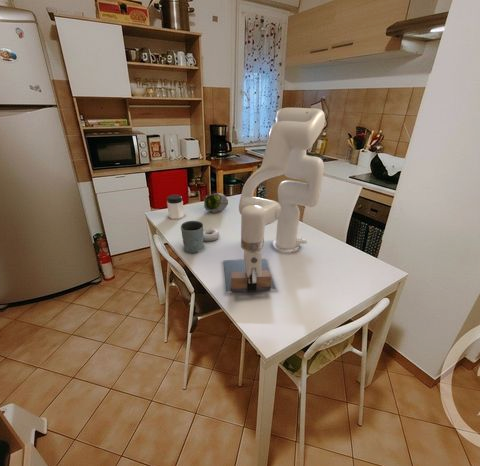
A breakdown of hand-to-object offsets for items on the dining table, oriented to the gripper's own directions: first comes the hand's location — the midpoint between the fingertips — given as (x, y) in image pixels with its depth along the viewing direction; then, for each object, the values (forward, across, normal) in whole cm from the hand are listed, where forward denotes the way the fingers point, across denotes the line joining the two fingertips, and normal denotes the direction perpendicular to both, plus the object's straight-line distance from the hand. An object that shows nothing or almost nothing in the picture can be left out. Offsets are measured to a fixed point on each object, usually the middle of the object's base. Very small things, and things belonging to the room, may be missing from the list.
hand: (250, 285), depth 95 cm
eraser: (+1, 0, 0) cm, 1 cm away
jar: (+2, +70, +34) cm, 78 cm away
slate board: (+2, +9, 0) cm, 9 cm away
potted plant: (+2, +75, +11) cm, 76 cm away
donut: (+2, +42, +15) cm, 45 cm away
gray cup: (+2, +32, +22) cm, 39 cm away
